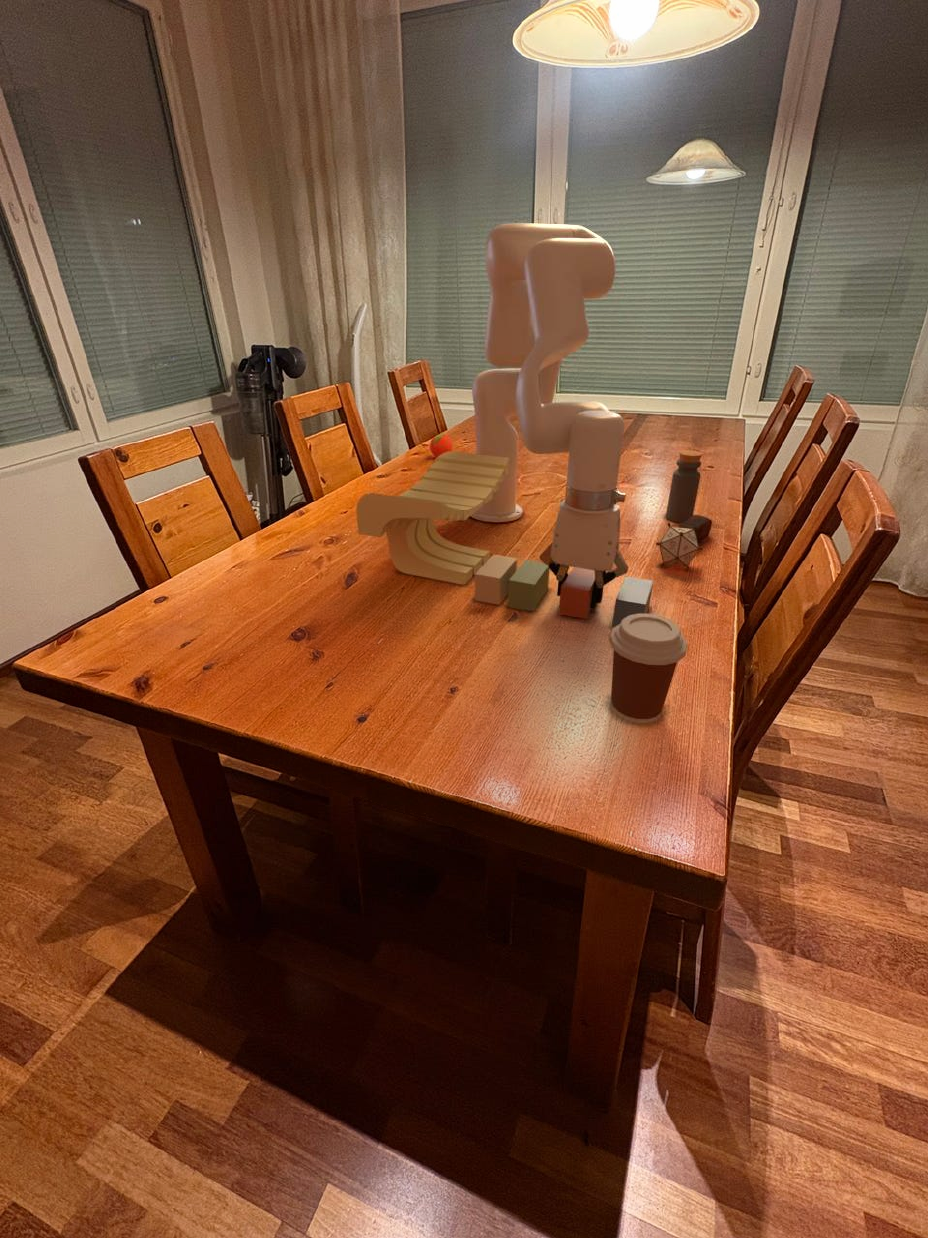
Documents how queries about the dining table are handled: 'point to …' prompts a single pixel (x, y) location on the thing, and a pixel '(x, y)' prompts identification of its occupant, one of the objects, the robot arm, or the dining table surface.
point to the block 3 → (632, 598)
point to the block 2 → (528, 585)
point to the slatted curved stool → (434, 516)
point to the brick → (698, 526)
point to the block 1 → (494, 579)
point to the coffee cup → (644, 665)
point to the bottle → (684, 487)
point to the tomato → (440, 445)
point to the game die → (679, 546)
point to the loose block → (577, 593)
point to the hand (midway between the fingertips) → (578, 601)
